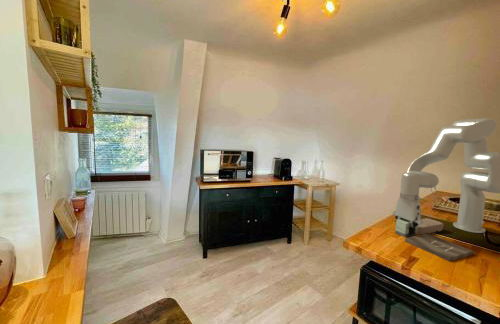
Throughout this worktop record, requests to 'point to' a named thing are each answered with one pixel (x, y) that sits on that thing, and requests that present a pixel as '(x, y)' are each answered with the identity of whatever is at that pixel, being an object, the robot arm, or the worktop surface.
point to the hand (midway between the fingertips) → (405, 231)
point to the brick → (429, 226)
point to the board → (439, 247)
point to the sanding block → (403, 227)
